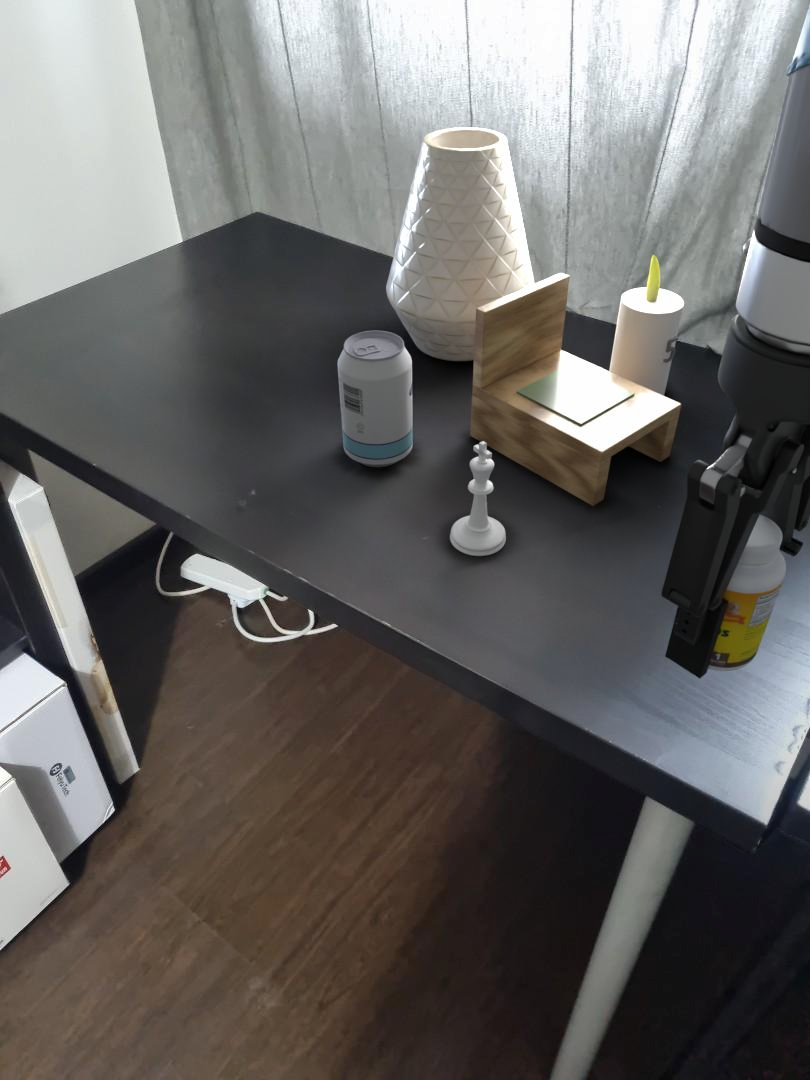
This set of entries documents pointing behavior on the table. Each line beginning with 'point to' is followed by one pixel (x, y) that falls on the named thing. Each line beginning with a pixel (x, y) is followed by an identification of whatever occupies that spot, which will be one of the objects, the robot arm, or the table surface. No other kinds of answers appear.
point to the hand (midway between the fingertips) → (712, 640)
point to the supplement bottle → (750, 597)
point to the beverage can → (376, 398)
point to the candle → (647, 333)
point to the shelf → (557, 396)
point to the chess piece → (479, 512)
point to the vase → (457, 240)
